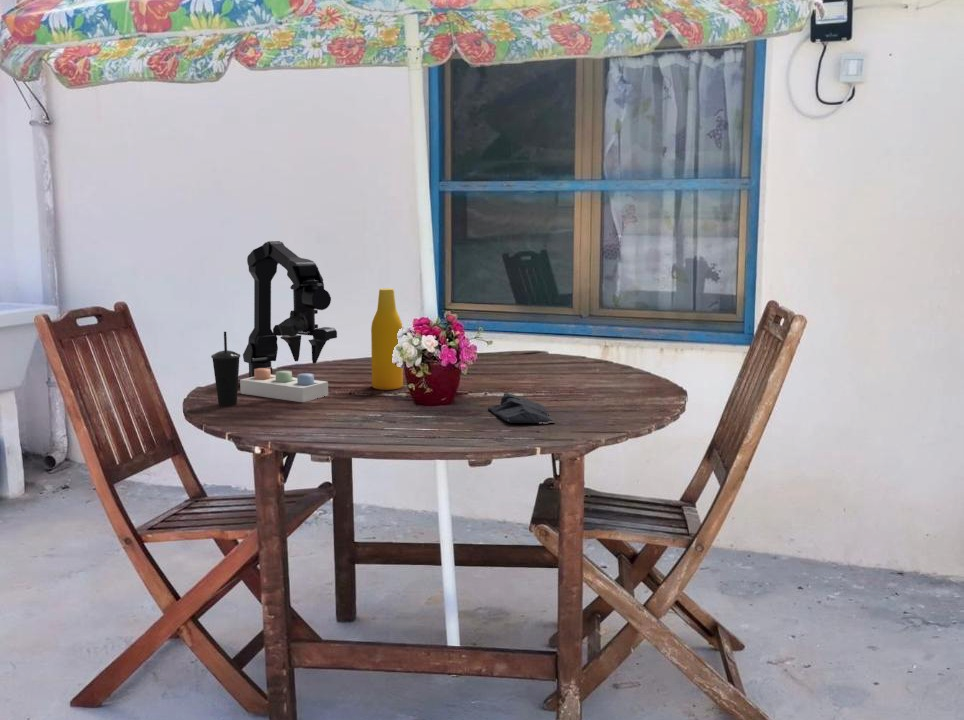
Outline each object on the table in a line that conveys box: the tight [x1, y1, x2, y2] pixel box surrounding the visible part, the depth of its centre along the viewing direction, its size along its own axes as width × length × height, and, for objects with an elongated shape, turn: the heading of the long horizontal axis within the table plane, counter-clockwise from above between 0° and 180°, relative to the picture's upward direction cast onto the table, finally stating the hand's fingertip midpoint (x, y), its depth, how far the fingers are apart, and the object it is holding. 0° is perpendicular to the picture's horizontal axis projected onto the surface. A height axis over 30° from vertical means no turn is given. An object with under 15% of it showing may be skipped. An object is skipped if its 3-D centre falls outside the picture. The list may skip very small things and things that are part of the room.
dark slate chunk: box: [487, 392, 554, 424], centre depth 279 cm, size 15×22×5 cm
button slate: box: [296, 373, 315, 386], centre depth 300 cm, size 5×5×5 cm
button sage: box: [274, 370, 293, 383], centre depth 304 cm, size 5×5×5 cm
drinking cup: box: [210, 331, 241, 407], centre depth 289 cm, size 8×8×20 cm
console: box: [239, 373, 329, 403], centre depth 304 cm, size 23×11×4 cm, turn 59°
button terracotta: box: [254, 368, 271, 380], centre depth 308 cm, size 5×5×5 cm
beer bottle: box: [370, 288, 404, 391], centre depth 314 cm, size 9×9×29 cm
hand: (305, 362), depth 299 cm, fingers open, 6 cm apart
